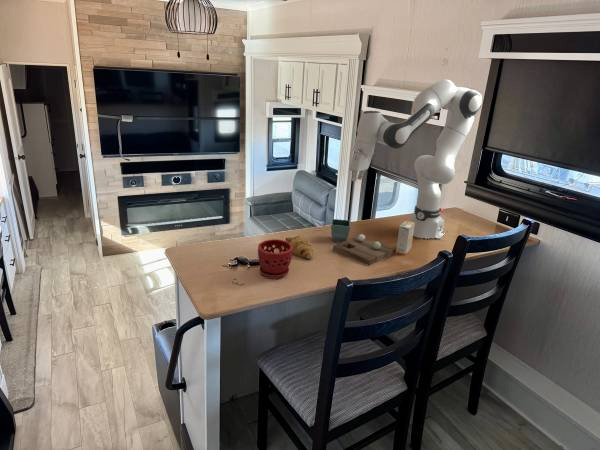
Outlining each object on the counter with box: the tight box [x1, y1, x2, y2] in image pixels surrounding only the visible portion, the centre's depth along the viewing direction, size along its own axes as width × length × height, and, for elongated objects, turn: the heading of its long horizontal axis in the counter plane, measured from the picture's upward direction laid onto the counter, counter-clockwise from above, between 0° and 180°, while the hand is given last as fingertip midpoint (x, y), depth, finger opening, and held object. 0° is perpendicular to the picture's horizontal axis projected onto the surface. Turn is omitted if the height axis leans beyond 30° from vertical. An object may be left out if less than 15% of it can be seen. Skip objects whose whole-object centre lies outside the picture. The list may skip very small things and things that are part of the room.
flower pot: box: [330, 218, 351, 243], centre depth 196 cm, size 9×9×9 cm
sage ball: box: [373, 241, 382, 249], centre depth 182 cm, size 3×3×3 cm
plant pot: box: [257, 238, 293, 279], centre depth 159 cm, size 13×13×12 cm
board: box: [332, 235, 395, 267], centre depth 184 cm, size 18×20×2 cm
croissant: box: [285, 235, 314, 260], centre depth 181 cm, size 21×10×8 cm, turn 33°
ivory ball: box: [357, 233, 366, 241], centre depth 190 cm, size 3×3×3 cm
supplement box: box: [395, 220, 415, 256], centre depth 186 cm, size 8×5×13 cm, turn 149°
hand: (356, 180), depth 181 cm, fingers open, 8 cm apart
